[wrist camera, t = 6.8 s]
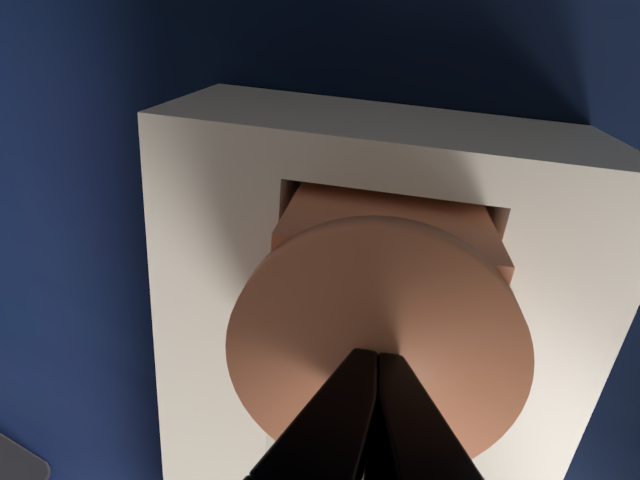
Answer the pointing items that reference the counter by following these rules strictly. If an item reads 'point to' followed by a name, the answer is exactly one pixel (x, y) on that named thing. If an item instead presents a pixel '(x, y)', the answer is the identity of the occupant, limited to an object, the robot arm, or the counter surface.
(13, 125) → the counter surface
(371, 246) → the terracotta plunger
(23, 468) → the usb wall charger
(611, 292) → the tray
